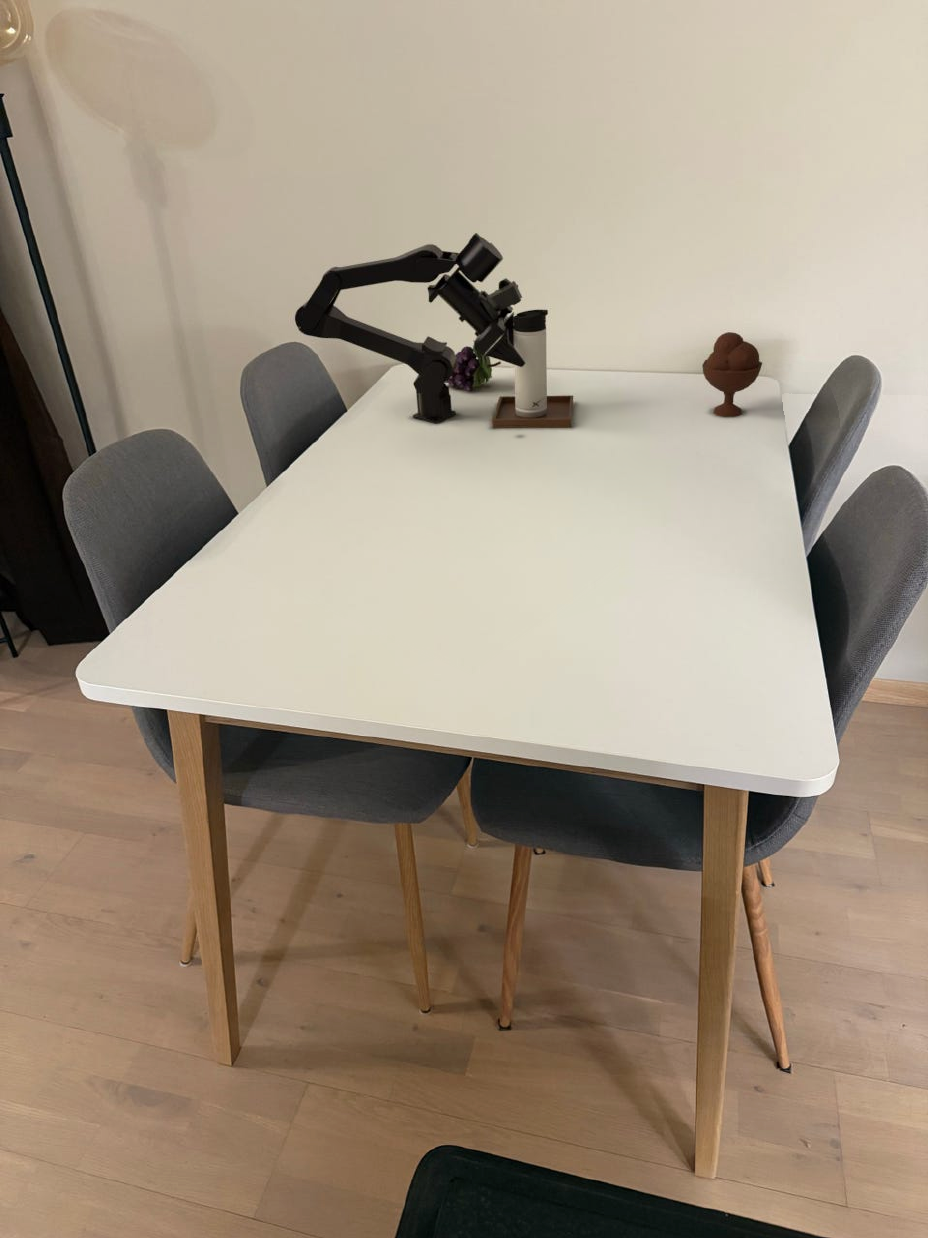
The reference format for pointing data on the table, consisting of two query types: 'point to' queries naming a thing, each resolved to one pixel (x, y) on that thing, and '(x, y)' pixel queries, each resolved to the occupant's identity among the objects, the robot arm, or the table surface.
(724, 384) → the ice cream bowl
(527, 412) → the travel mug
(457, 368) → the fruit
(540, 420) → the serving tray
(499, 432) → the table surface
